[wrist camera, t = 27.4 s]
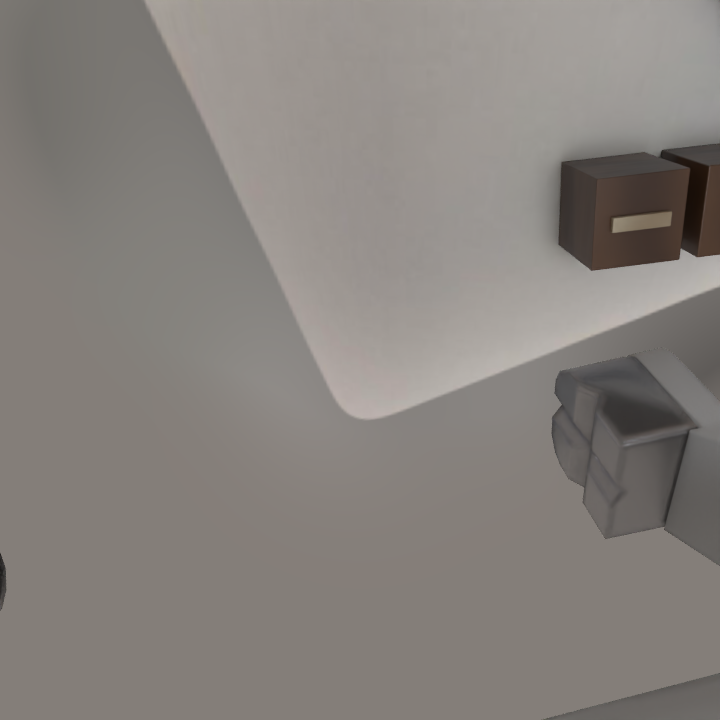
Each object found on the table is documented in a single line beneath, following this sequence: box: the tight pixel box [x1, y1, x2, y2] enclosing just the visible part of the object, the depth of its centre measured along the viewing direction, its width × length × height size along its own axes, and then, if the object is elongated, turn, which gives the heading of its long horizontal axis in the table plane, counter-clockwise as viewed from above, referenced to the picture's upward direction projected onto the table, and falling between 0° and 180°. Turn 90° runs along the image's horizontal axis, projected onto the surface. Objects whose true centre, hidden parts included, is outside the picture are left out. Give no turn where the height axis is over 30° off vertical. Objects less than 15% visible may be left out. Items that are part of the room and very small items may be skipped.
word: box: [559, 144, 720, 271], centre depth 38 cm, size 11×5×5 cm, turn 95°
